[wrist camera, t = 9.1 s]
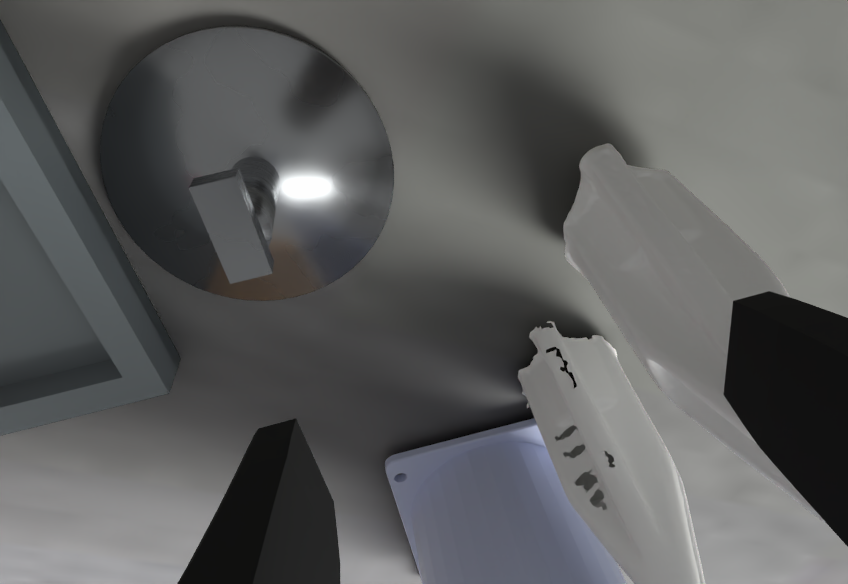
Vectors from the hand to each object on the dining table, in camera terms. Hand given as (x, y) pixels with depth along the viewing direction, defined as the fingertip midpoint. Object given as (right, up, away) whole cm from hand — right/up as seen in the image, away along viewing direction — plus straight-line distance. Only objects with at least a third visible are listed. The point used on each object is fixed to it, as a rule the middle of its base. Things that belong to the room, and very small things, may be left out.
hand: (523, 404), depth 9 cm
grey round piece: (-7, +5, +7) cm, 11 cm away
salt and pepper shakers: (+4, +2, +12) cm, 12 cm away
